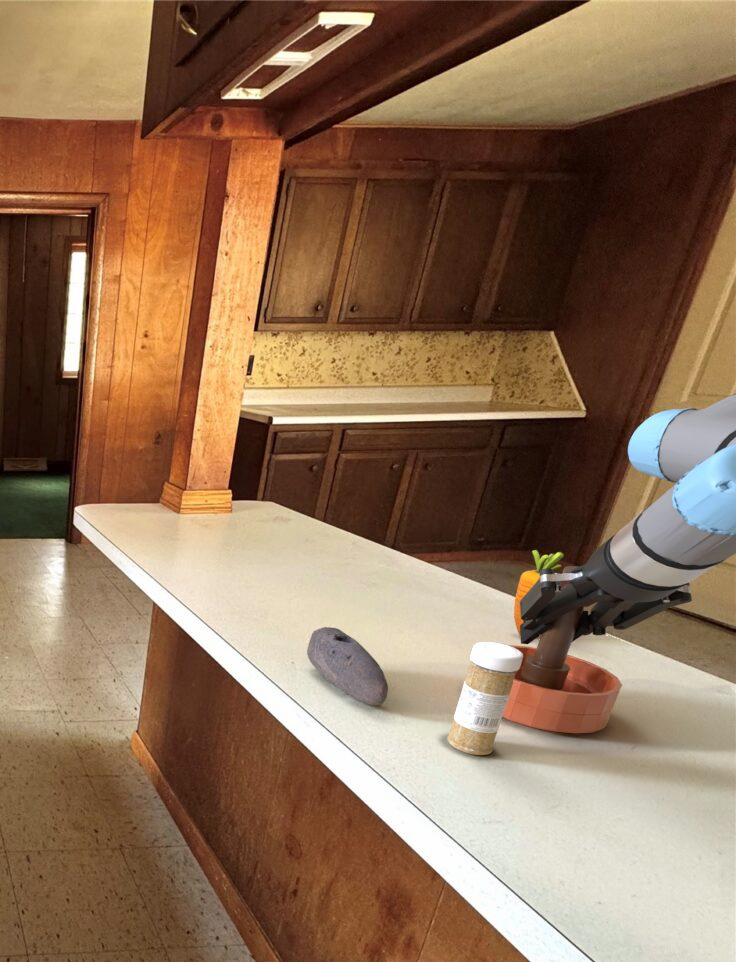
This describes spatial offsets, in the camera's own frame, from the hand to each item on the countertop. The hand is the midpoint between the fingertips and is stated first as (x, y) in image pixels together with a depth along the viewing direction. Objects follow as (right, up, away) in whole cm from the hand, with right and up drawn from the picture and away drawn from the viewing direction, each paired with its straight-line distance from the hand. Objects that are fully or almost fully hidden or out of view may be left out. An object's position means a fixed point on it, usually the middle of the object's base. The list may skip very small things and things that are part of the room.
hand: (541, 636), depth 89 cm
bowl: (-1, -10, 0) cm, 10 cm away
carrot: (+15, -1, +20) cm, 25 cm away
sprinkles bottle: (-16, -13, -7) cm, 22 cm away
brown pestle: (-1, -6, -1) cm, 6 cm away
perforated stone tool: (-23, -8, +6) cm, 25 cm away
